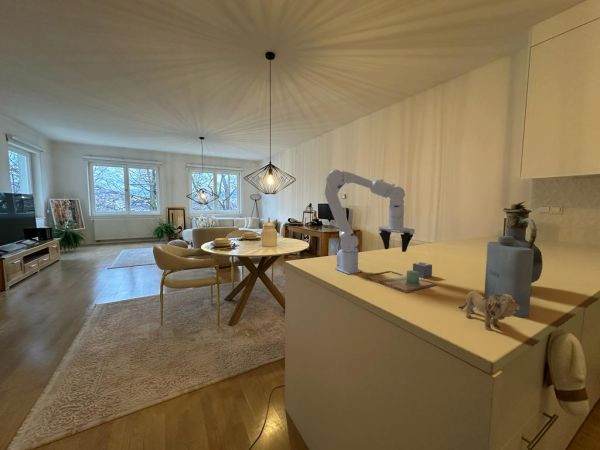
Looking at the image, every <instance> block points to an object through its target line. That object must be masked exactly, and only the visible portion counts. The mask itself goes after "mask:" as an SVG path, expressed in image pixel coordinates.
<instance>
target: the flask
mask: <svg viewBox="0 0 600 450" xmlns="http://www.w3.org/2000/svg"><path fill="white" fill-rule="evenodd" d="M513 243H515V238H513V237H510V236H507V235H500V236H499V237H498V238H497V241H488V242H487V246H486V247H487V248H486V262H485V263H486V264H485V280H484V282H485V283H484V296H483V297H484V298H486V297H487V296H494V295H499V294H508V295H510V296H512V298H513V300H514V301H515V303H516V304H518V305H519V306H520V307H519V310H517V312H516V313H514V314H513V315H512V316H513V317H517V318H527V317H529V316H530V310H531V309H530V307H531V306H530V305H531V292H532V284H533V283H532V270H533V257H534V250H532V249H529V248H524V247H519V246H515V245H513Z"/></svg>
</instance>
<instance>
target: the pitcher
mask: <svg viewBox="0 0 600 450" xmlns="http://www.w3.org/2000/svg"><path fill="white" fill-rule="evenodd" d="M524 203H526V200H524V201H522V202H519V203H512V204H511V205H510V207H509V208H503V209H502V211H503V212H505V213H506V214H505V215H506V220H507V221H506V224H505V225H506V236H510V237H513V238H515V243H513V245H515V246H519V247H524V248H529V249H532V250H534V257H533V270H532V283H531V284H533V283H535V282H537V281H539V279H540V278H541V275H542V271H543V255H542V251H541V250H540V248H539V247H538V246H537V245H536V244H535V242H536V238H537V232H538V230H537V225H536V223H535V222H534V220H533V219H532V218H530V213H532V212H533V210H531V209H527V208H528V207H527V206H526V207H525V206H524V205H523V204H524ZM528 227H530V228H529V229H530V232H529V233H530V237H529V239H528V240H526V234H527V229H528Z"/></svg>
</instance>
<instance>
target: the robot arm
mask: <svg viewBox="0 0 600 450" xmlns="http://www.w3.org/2000/svg"><path fill="white" fill-rule="evenodd" d="M325 181H326V184H325V190H324V195H325V199H326V201H327V204H328V206H329V209H330V211H331V213H332V217H333V219H334V222H335V223H336V226H337V230H338V231H339V239H340V248H341V249H339V250H338V251H337V253H336V267H334V269H335V270H336V271H339V272H341V273H345V274H347V275H350V274H356V273H362V272H363V270H361V269H359V249H358V248H357V247H358V245H359V238H358V236H357V235H356V234H354V233H355V232H354V231H353V229H352V228H351V226H350V224H349V221H348V218H347V216H346V213H345V211H344V209H343V206H342V204H341V202H340V199H339V196H338V195H339V192H340V191H341V188H342V187H343V186H345V184H347V185H348V184H349V185H350V184H352V183H353V184H356V185H358V186H361V187H364V188H368V189H370V192H371V193H372V194H374V195H377V196H380V197H382V198H385V199H387V198H389V205H388V226H383V225H382V226H378V232H379V236H380V239H381V240H382V243H383V246H384V250H389V249H390V239H391V235H392V233H395V234H396V233H399V234H400V237H401V238H400V239H401V252H402V253H405V252H407V250H408V246H409V244H410V241H411V240H412V238H413V237H414V235H415V234H416V233H415V231H416V230H415V228H407V227H404V225H405V222H404V220H405V218H404V216H405V200H404V198H405V197H406V193H405V190H404V189H403V187H400V186H396V184H394V183H388V182H386V181H384V179H382V178H380V179H376V180H370V179H369V178H365V177H363V176H360V175H357V174H355V173H353V172H348V171H345V170H342V171H340V170H339V169H332V170H331V171H330V172H329V173H328V174H327V176H326V179H325Z"/></svg>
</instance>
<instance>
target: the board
mask: <svg viewBox="0 0 600 450" xmlns="http://www.w3.org/2000/svg"><path fill="white" fill-rule="evenodd" d="M391 272H392V274H394V275H398V276H393V277H388V278H383V279H378V280H376V279H375V278H374V279H373V278H371V276H375V275H382V274H385V273H387V274H388V273H391ZM361 277H362V278H364V279H367V280H370V281H372V282H374V283H378V284H380V285H383V286H386V287H387V288H391V289H394V290H396V291H400V292H401V293H405V294H408V293H411V292H416V291H420V290H424V289H428V288H431V287H436V286H437V284H435V283H432V282H429V281H425V280H422V279H419V283H420V286H417V287H414V286H408V285H406V284H405V281H407V274H406V275H405V274H402V273H399V272H395V271H393V270H386V271H381V272H375V273H371V274H366V275H362V276H361Z"/></svg>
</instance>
